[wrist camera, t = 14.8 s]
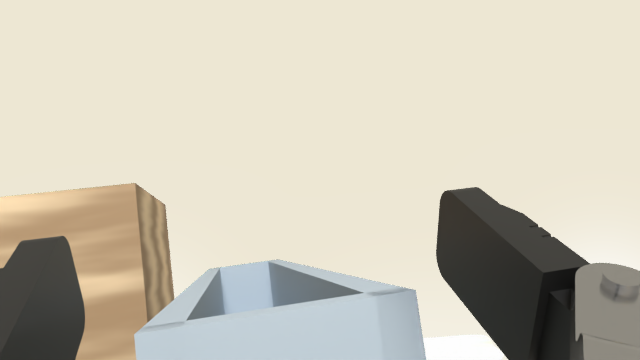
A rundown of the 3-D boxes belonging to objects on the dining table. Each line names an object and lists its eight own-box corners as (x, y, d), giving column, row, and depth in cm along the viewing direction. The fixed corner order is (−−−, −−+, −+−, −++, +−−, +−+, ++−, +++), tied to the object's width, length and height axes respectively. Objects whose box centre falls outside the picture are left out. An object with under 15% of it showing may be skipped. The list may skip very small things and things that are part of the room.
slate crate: (463, 614, 8) (415, 290, 8) (166, 698, 7) (134, 334, 8) (287, 336, 33) (277, 259, 34) (217, 347, 33) (209, 268, 33)
